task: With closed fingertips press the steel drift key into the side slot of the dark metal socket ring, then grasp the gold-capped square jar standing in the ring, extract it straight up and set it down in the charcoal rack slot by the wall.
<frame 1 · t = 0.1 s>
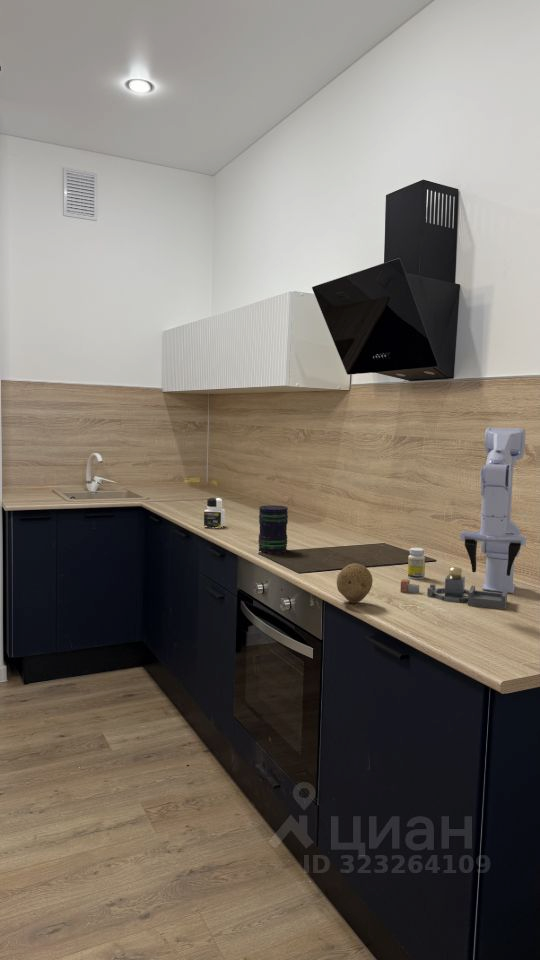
hand: (491, 573, 162), 10 cm above the worktop, fingers open, 7 cm apart
medicine bottle: (214, 527, 283), on the worktop
supplement bottle: (416, 578, 200), on the worktop
socket: (454, 596, 179), on the worktop
rack: (487, 603, 173), on the worktop
gold-capped square jar: (454, 596, 179), resting in socket
drift key: (410, 586, 183), point 1 cm above the worktop, slide at 0.0 cm
storage jar: (272, 551, 236), on the worktop
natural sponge: (353, 604, 171), on the worktop
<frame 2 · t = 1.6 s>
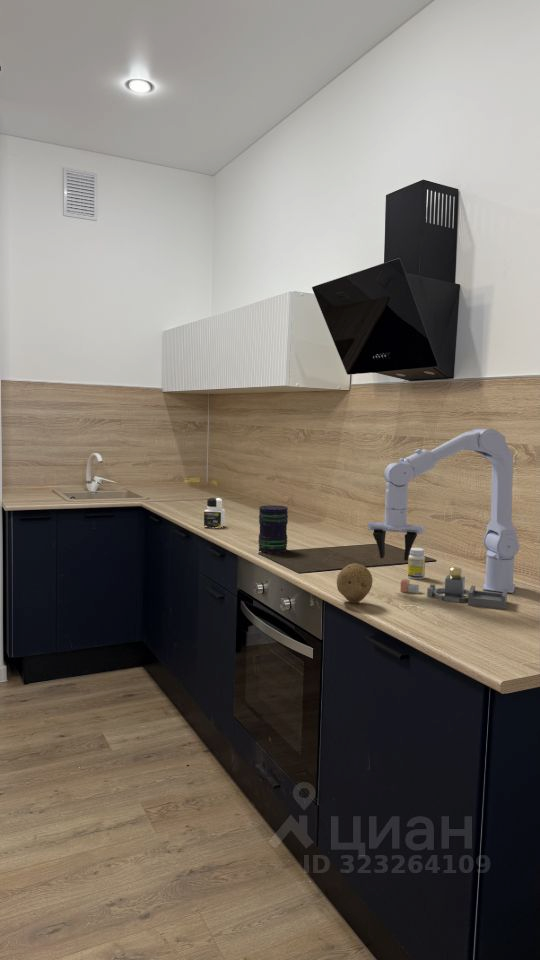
hand: (394, 558, 184), 8 cm above the worktop, fingers open, 6 cm apart
nothing on the worktop moved.
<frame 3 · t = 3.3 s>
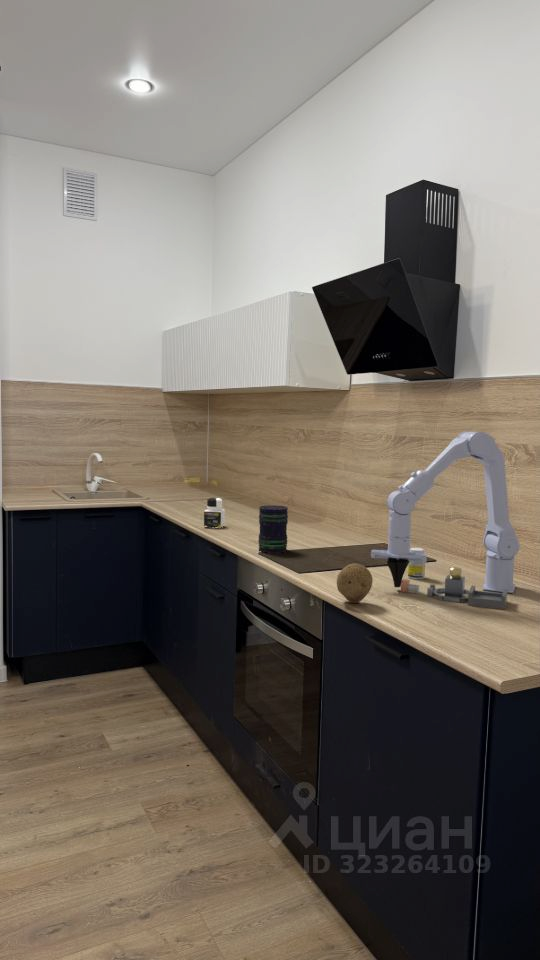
hand: (397, 586, 184), 1 cm above the worktop, fingers closed
drift key: (410, 586, 183), point 1 cm above the worktop, slide at 0.1 cm, touching gripper
everything else where it was.
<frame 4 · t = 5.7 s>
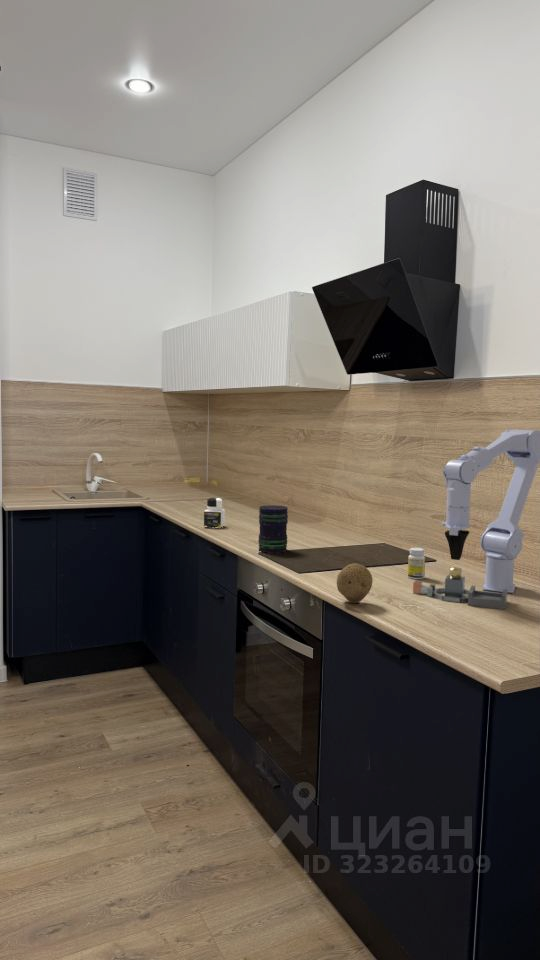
hand: (455, 559, 178), 10 cm above the worktop, fingers closed
drift key: (422, 587, 182), point 1 cm above the worktop, slide at 3.3 cm
everything else where it was.
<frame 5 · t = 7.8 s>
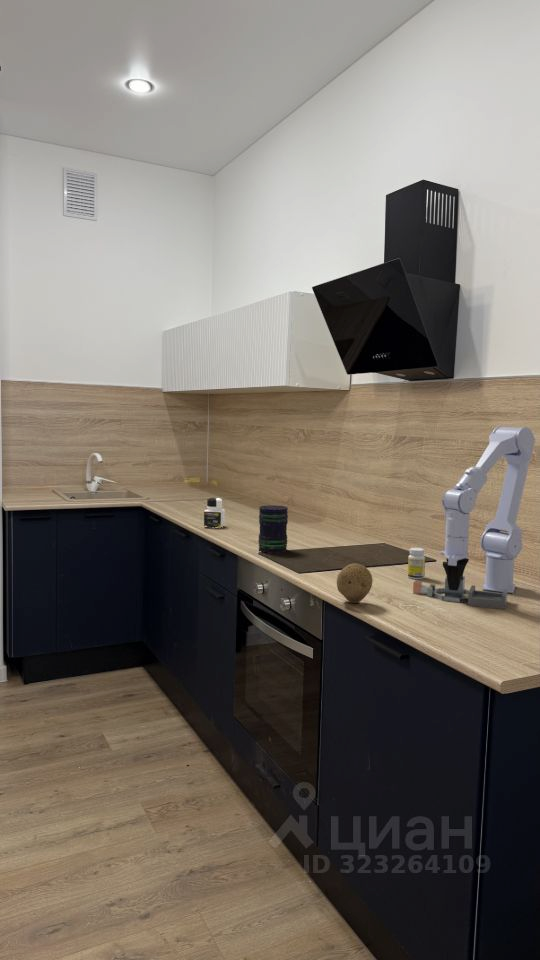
hand: (454, 587, 179), 2 cm above the worktop, fingers closed on gold-capped square jar, 4 cm apart
gold-capped square jar: (454, 596, 179), resting in socket, touching gripper
everything else where it was.
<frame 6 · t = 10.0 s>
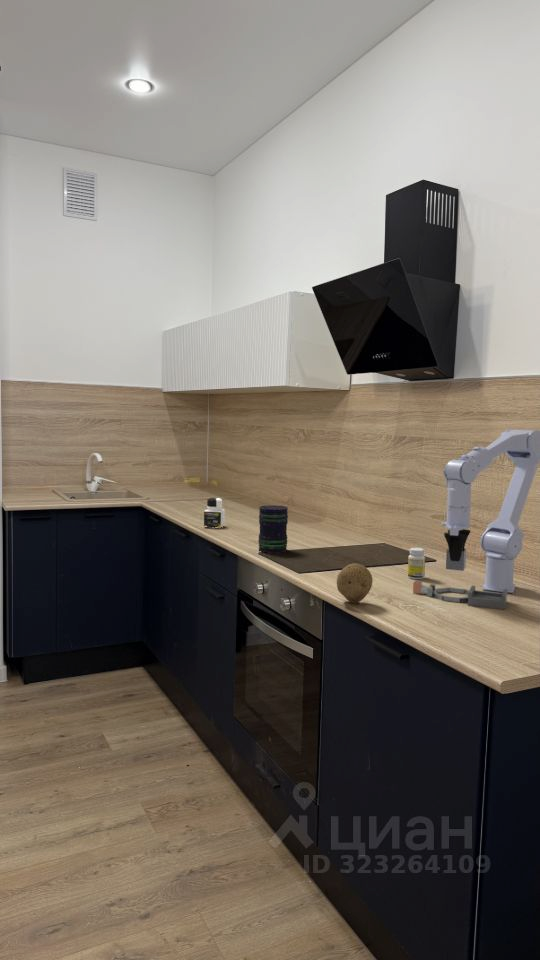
hand: (456, 559, 178), 10 cm above the worktop, fingers closed on gold-capped square jar, 4 cm apart
gold-capped square jar: (455, 568, 178), point 7 cm above the worktop, touching gripper
everything else where it was.
when the fingers open (5 cm above the worktop, at t = 12.1 s): gold-capped square jar drops 1 cm, resting on rack.
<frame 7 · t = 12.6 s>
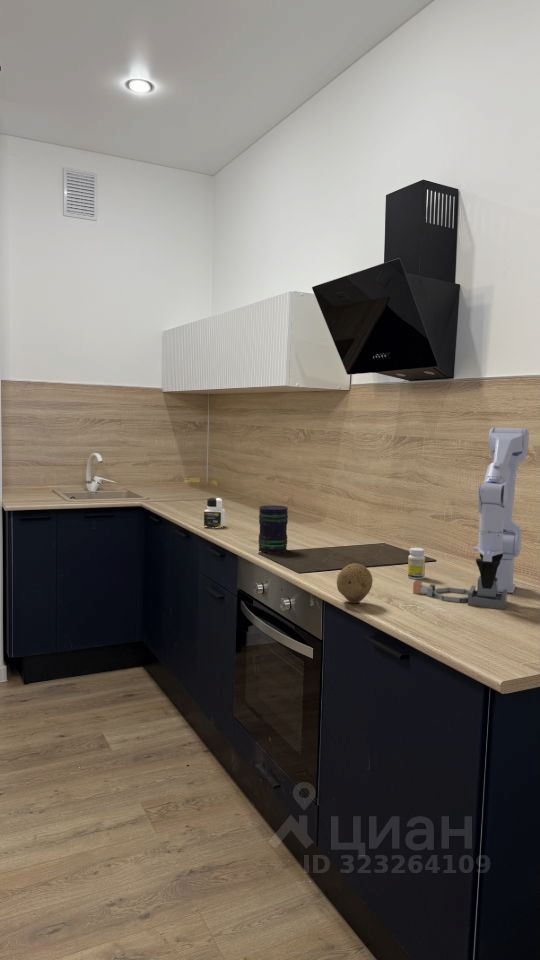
hand: (488, 584, 173), 5 cm above the worktop, fingers open, 7 cm apart
gold-capped square jar: (486, 598, 173), point 1 cm above the worktop, touching rack
everything else where it was.
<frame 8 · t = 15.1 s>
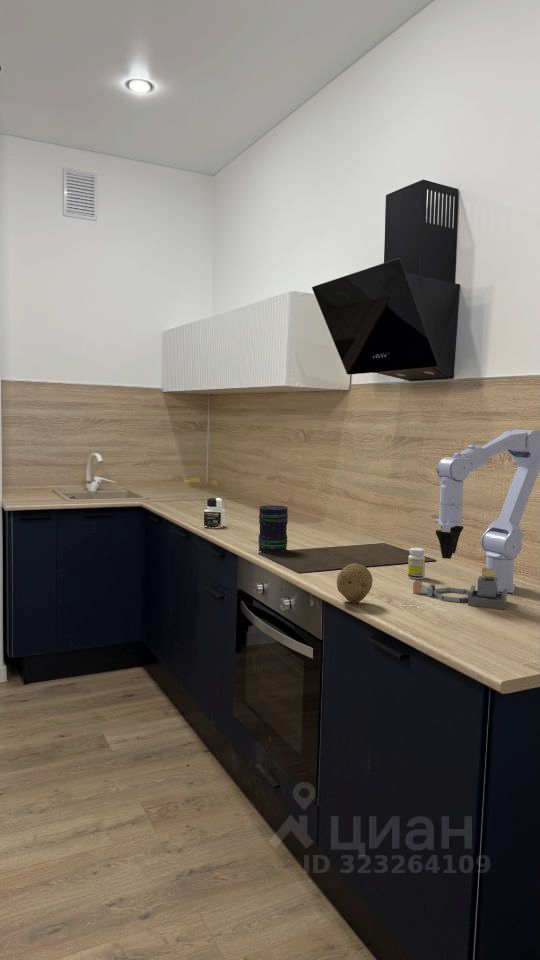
hand: (448, 555, 180), 10 cm above the worktop, fingers open, 7 cm apart
nothing on the worktop moved.
at the end: gold-capped square jar inside the target area on the rack (0.2 cm from its centre), point 1.2 cm above the rack's base; gold-capped square jar tilted 0°; drift key slide at 3.3 cm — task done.
